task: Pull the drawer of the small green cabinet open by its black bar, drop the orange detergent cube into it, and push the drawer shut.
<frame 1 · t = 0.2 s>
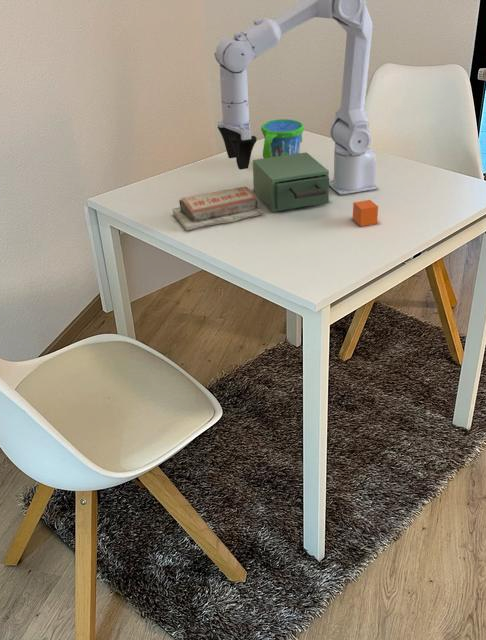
hand: (238, 162, 161), 10 cm above the table, tool pointing down, fingers open, 7 cm apart
drawer: (297, 188, 165), point 4 cm above the table, slide at 0.5 cm
cube: (364, 221, 158), on the table
snack cup: (283, 165, 189), on the table
packaged product: (217, 216, 163), on the table
small green cabinet: (290, 196, 171), on the table
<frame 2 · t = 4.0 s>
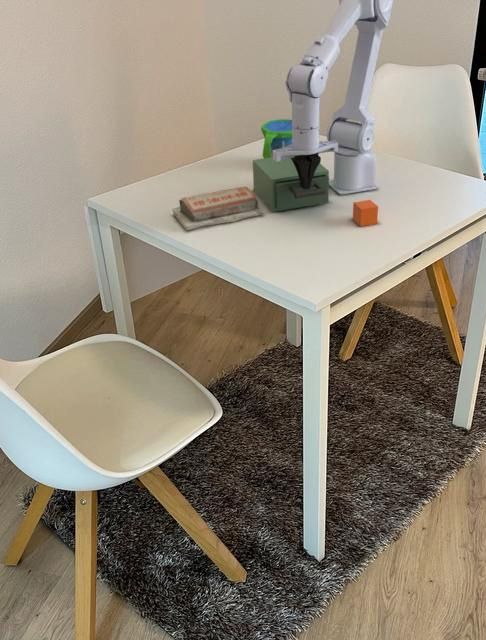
hand: (305, 187, 160), 6 cm above the table, tool pointing down, fingers closed
nothing on the table moved.
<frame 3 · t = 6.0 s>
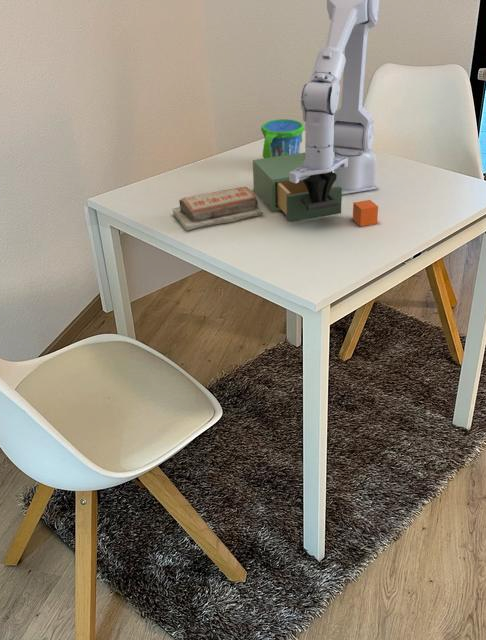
hand: (318, 206, 155), 4 cm above the table, tool pointing down, fingers closed, pressing on drawer
drawer: (308, 198, 160), point 4 cm above the table, slide at 7.4 cm, touching gripper
everything else where it was.
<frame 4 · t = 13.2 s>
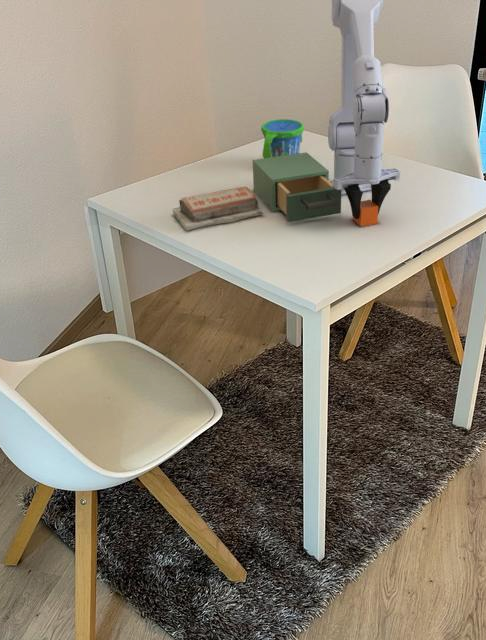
hand: (365, 215, 157), 1 cm above the table, tool pointing down, fingers closed on cube, 4 cm apart
drawer: (308, 198, 160), point 4 cm above the table, slide at 7.2 cm
cube: (364, 221, 158), on the table, touching gripper
everything else where it was.
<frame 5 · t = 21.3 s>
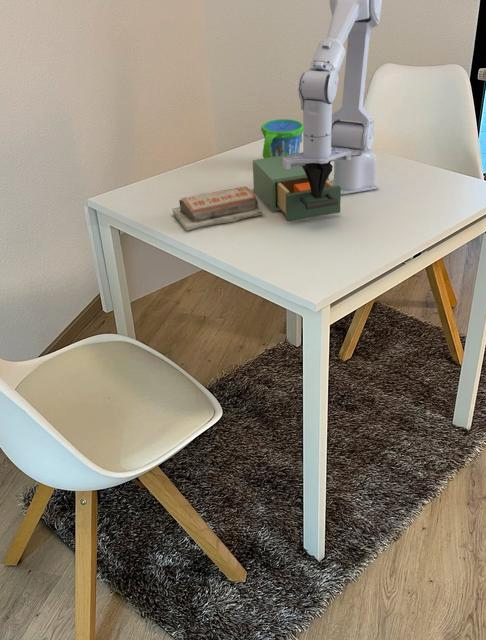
hand: (316, 196, 155), 6 cm above the table, tool pointing down, fingers closed
drawer: (307, 198, 160), point 4 cm above the table, slide at 6.9 cm, touching cube
cube: (305, 203, 162), point 2 cm above the table, touching drawer
everything else where it was.
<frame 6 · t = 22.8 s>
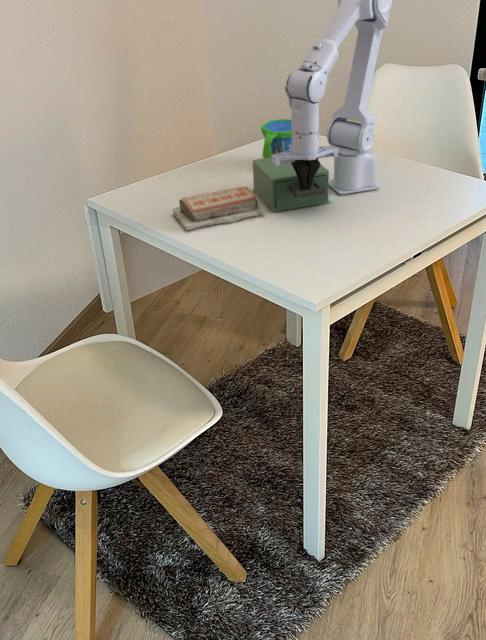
hand: (305, 192, 161), 5 cm above the table, tool pointing down, fingers closed, pressing on drawer
drawer: (296, 187, 165), point 4 cm above the table, slide at 0.0 cm, touching cube, gripper, small green cabinet
cube: (294, 192, 168), point 2 cm above the table, touching drawer
everything else where it was.
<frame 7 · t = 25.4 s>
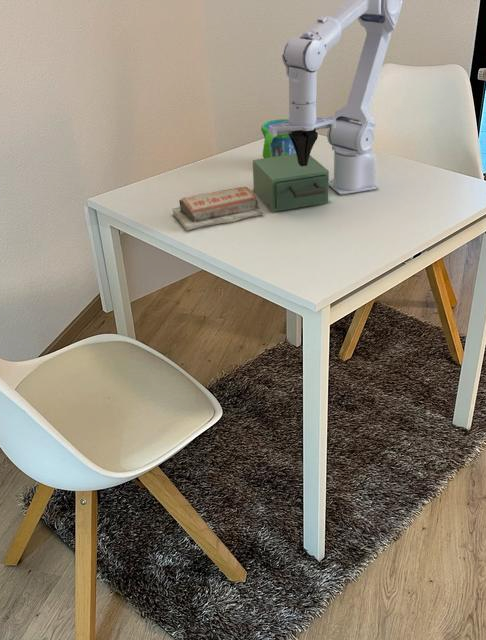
hand: (302, 164, 159), 10 cm above the table, tool pointing down, fingers closed
drawer: (296, 187, 165), point 4 cm above the table, slide at 0.0 cm, touching cube, small green cabinet
everything else where it was.
at the end: drawer pulled out 7.4 cm at the most during the clip, back to where it started at the end; cube inside the target area in the small green cabinet (2.4 cm from its centre), point 2.0 cm above the small green cabinet's base; drawer slide at 0.0 cm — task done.
